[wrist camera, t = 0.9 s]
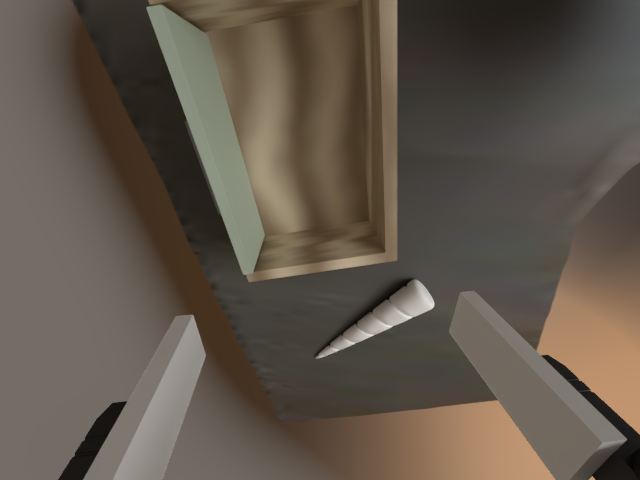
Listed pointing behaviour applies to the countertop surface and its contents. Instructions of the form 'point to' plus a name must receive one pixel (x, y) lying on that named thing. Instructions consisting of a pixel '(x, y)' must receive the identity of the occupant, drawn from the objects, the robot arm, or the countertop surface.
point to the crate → (311, 123)
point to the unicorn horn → (385, 316)
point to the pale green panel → (211, 130)
